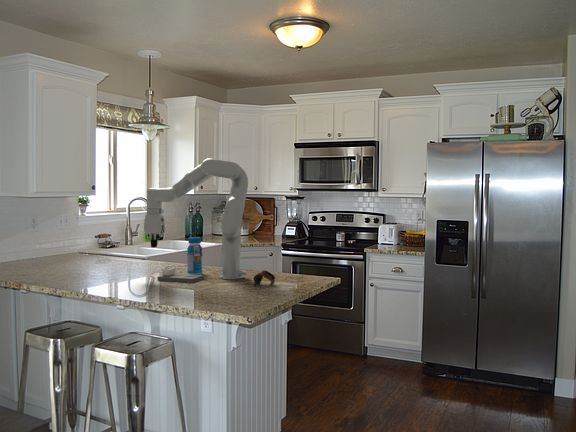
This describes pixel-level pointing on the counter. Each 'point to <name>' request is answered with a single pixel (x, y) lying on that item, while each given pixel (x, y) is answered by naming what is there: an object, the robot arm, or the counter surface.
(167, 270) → the fader knob
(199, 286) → the counter surface
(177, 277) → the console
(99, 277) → the counter surface
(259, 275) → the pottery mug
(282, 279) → the counter surface
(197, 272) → the blue lidded canister
